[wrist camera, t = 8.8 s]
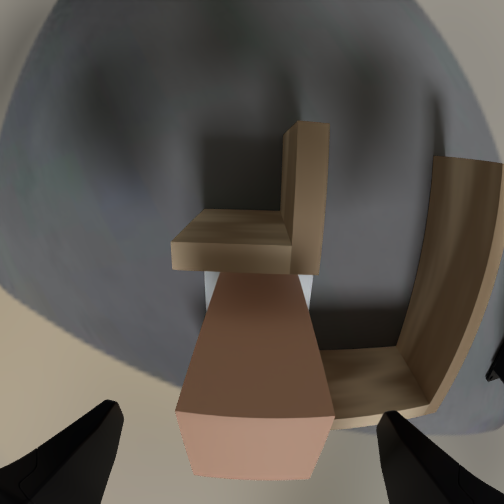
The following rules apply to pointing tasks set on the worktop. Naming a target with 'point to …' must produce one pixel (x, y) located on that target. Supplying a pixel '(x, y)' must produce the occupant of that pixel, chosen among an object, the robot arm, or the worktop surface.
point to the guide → (425, 287)
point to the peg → (255, 383)
